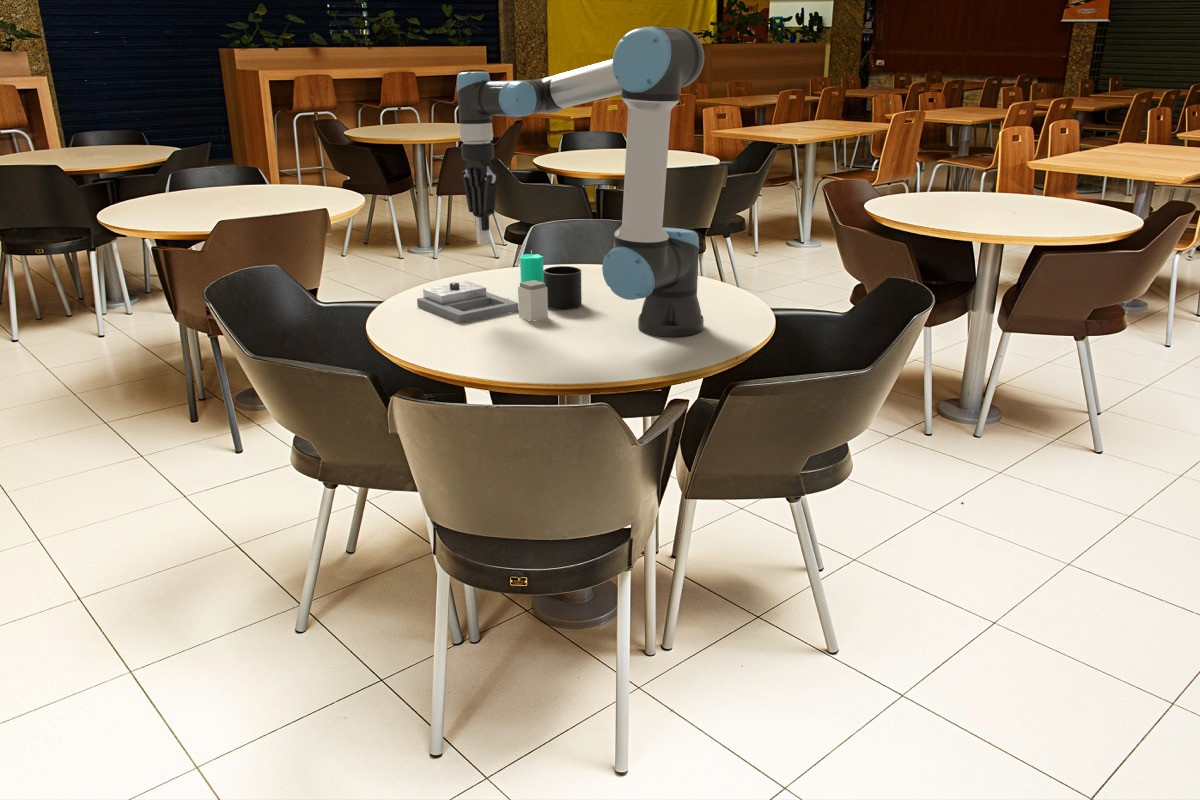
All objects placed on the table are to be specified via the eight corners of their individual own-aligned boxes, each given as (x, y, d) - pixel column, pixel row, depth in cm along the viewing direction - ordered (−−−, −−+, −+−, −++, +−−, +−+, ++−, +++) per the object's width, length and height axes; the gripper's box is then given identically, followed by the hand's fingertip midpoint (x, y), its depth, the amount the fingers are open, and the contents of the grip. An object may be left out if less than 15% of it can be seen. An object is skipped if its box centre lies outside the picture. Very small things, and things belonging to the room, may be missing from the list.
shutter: (486, 295, 236) (485, 282, 234) (441, 303, 228) (441, 291, 227) (467, 288, 242) (466, 276, 241) (423, 296, 234) (422, 284, 233)
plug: (548, 317, 224) (547, 283, 221) (531, 321, 221) (530, 286, 218) (535, 313, 227) (534, 279, 224) (519, 317, 224) (517, 282, 221)
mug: (584, 298, 241) (584, 264, 237) (579, 310, 230) (579, 274, 226) (548, 297, 241) (547, 263, 238) (541, 310, 230) (540, 274, 227)
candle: (543, 298, 241) (542, 252, 236) (520, 298, 241) (518, 252, 236) (544, 292, 246) (543, 247, 242) (522, 292, 246) (521, 247, 242)
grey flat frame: (518, 310, 229) (518, 303, 229) (459, 323, 219) (459, 315, 219) (474, 295, 244) (474, 287, 243) (417, 306, 234) (416, 298, 233)
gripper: (506, 142, 213) (511, 244, 221) (475, 139, 222) (481, 237, 230) (478, 144, 208) (485, 249, 216) (448, 141, 218) (455, 241, 226)
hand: (483, 243), depth 223 cm, fingers closed
